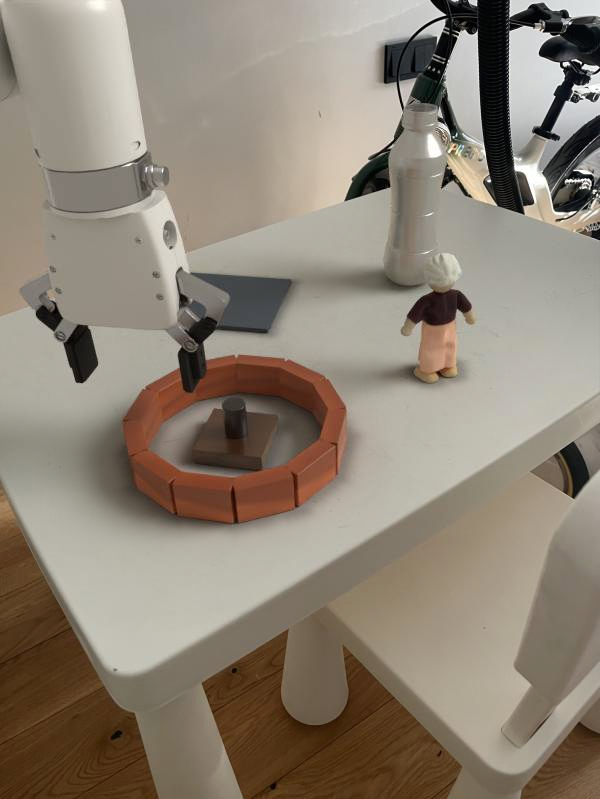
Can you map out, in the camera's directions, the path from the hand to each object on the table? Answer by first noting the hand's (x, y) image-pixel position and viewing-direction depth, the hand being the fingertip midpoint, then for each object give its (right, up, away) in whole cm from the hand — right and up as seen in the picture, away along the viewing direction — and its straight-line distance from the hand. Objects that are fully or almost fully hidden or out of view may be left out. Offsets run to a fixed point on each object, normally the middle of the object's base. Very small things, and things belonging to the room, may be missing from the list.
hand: (140, 378), depth 62 cm
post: (+8, -6, +2) cm, 10 cm away
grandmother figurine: (+27, +1, +10) cm, 29 cm away
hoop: (+8, -6, +2) cm, 10 cm away
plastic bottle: (+27, +13, +27) cm, 40 cm away
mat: (+5, +10, +24) cm, 26 cm away
